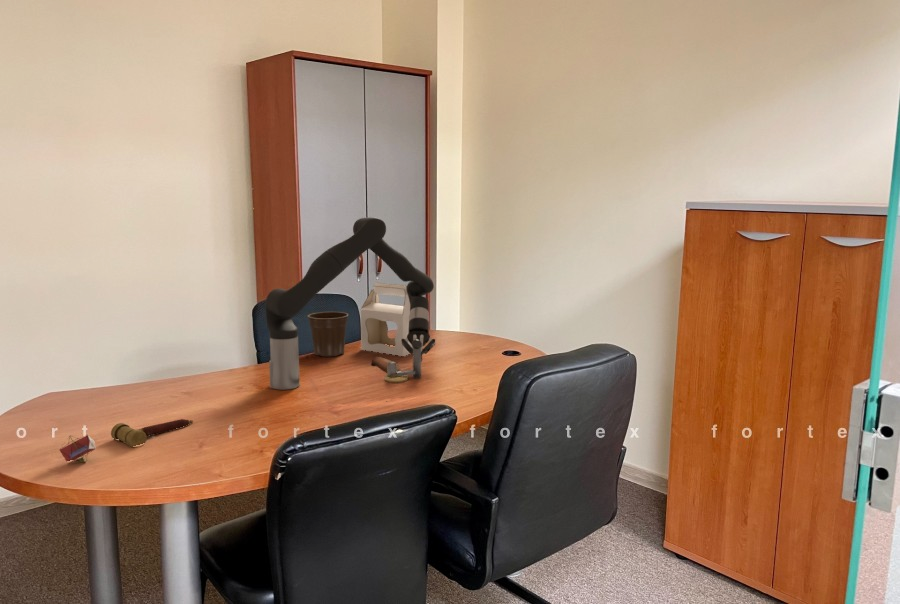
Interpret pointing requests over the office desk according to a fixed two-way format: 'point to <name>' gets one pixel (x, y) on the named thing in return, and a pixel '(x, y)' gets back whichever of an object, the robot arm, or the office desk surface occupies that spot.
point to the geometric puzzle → (78, 448)
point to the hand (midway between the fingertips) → (417, 362)
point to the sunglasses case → (382, 363)
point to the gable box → (377, 316)
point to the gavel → (144, 431)
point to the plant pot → (328, 332)
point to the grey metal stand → (402, 376)
